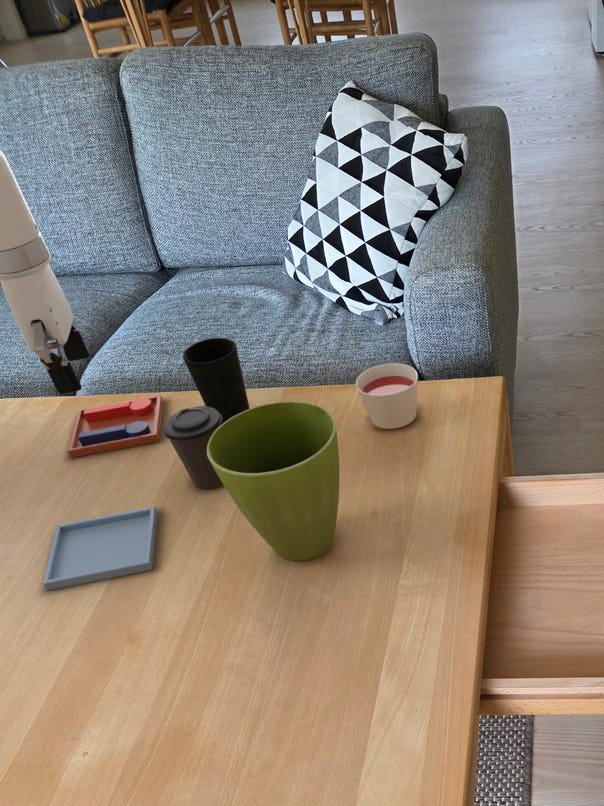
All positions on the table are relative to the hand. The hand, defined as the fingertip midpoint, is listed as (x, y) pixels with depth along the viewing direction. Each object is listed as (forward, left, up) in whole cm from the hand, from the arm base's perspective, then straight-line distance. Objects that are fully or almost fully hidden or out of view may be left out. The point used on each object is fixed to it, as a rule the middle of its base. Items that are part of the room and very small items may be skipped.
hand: (75, 374), depth 125 cm
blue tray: (+3, -28, -11) cm, 30 cm away
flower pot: (+29, -35, -12) cm, 46 cm away
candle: (+44, -9, -12) cm, 46 cm away
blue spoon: (+2, 0, -11) cm, 11 cm away
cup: (+20, -2, -12) cm, 23 cm away
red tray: (+2, +3, -11) cm, 12 cm away
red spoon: (+2, +7, -11) cm, 13 cm away
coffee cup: (+17, -16, -12) cm, 26 cm away
